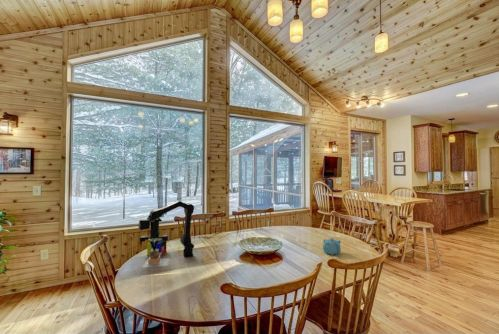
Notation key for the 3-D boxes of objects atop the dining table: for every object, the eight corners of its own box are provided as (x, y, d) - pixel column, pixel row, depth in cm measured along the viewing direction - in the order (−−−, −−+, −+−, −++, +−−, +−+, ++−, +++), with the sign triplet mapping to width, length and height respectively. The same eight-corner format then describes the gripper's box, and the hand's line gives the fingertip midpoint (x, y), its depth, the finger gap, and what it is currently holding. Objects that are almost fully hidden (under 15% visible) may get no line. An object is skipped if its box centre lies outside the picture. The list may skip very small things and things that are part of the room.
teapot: (332, 259, 179) (332, 243, 179) (315, 252, 193) (315, 237, 193) (349, 254, 190) (349, 239, 190) (331, 248, 204) (331, 234, 204)
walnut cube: (158, 255, 172) (158, 248, 172) (157, 258, 167) (157, 251, 167) (151, 256, 171) (151, 249, 171) (149, 259, 166) (150, 251, 166)
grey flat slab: (170, 259, 176) (170, 257, 176) (167, 266, 162) (167, 265, 162) (146, 260, 173) (146, 259, 173) (142, 268, 159) (142, 267, 159)
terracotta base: (160, 259, 173) (160, 255, 173) (158, 263, 166) (158, 258, 166) (150, 260, 172) (150, 255, 172) (148, 263, 165) (148, 259, 165)
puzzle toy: (159, 257, 179) (159, 244, 179) (147, 256, 181) (147, 243, 181) (166, 252, 189) (166, 240, 189) (154, 251, 191) (155, 239, 191)
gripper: (169, 224, 179) (169, 245, 179) (143, 226, 175) (142, 247, 175) (168, 228, 168) (167, 250, 168) (139, 229, 164) (139, 252, 164)
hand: (154, 250), depth 169 cm, fingers closed
